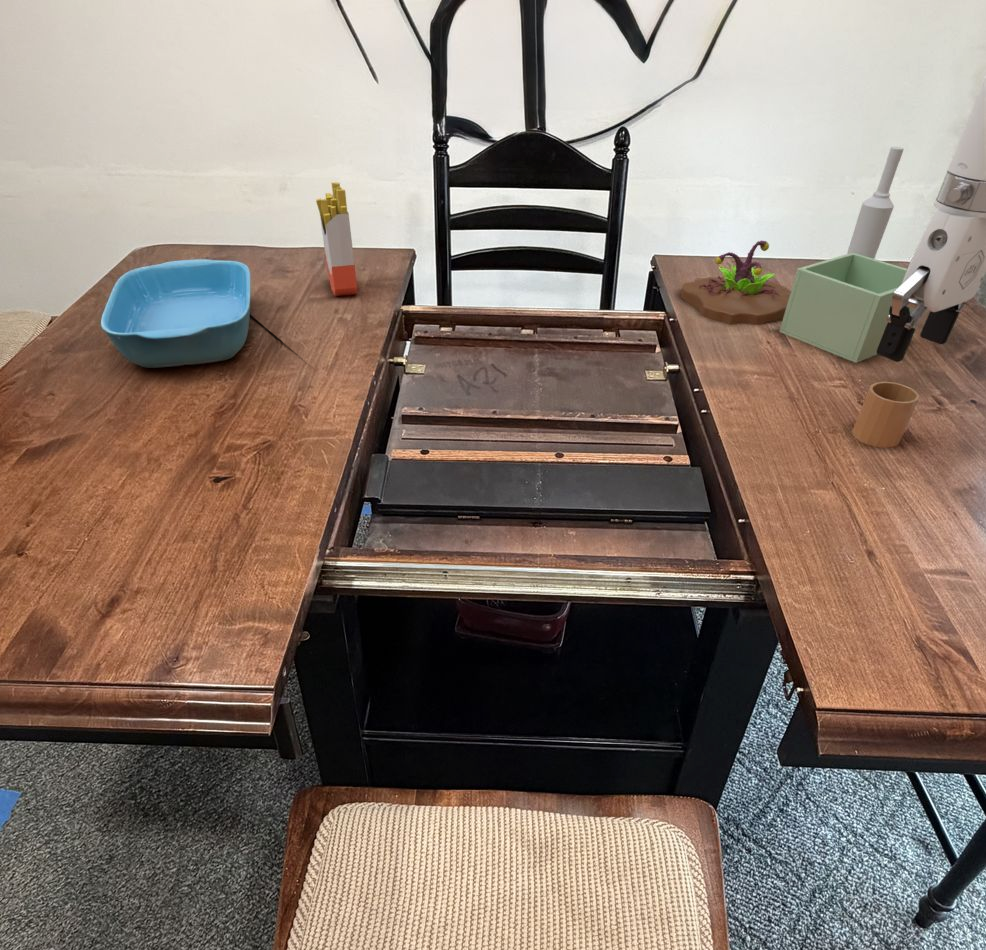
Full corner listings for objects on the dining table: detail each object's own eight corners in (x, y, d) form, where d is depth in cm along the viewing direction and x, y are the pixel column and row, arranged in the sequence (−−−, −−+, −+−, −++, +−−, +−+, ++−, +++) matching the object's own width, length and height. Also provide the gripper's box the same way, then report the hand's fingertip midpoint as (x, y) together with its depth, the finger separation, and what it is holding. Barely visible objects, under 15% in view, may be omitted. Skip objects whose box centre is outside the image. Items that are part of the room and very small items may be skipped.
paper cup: (906, 442, 97) (928, 394, 92) (881, 455, 94) (902, 407, 89) (867, 424, 100) (886, 377, 95) (841, 436, 98) (860, 389, 93)
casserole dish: (134, 300, 132) (120, 259, 127) (257, 291, 136) (249, 251, 131) (106, 388, 106) (88, 341, 101) (260, 373, 110) (250, 328, 105)
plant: (815, 321, 128) (836, 255, 120) (716, 331, 124) (732, 263, 116) (758, 283, 142) (774, 222, 134) (668, 291, 138) (679, 228, 131)
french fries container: (334, 303, 132) (319, 194, 120) (327, 283, 139) (312, 179, 127) (359, 300, 133) (346, 193, 121) (350, 281, 140) (338, 178, 128)
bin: (907, 344, 121) (935, 277, 113) (854, 366, 114) (880, 296, 107) (831, 316, 130) (852, 252, 122) (778, 334, 123) (797, 268, 116)
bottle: (860, 306, 133) (915, 152, 116) (831, 302, 135) (881, 149, 118) (859, 297, 137) (913, 146, 120) (831, 293, 138) (880, 143, 121)
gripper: (969, 213, 71) (899, 376, 82) (1050, 192, 78) (975, 344, 90) (900, 196, 75) (843, 353, 87) (983, 178, 83) (920, 324, 94)
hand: (910, 348), depth 88 cm, fingers open, 9 cm apart
